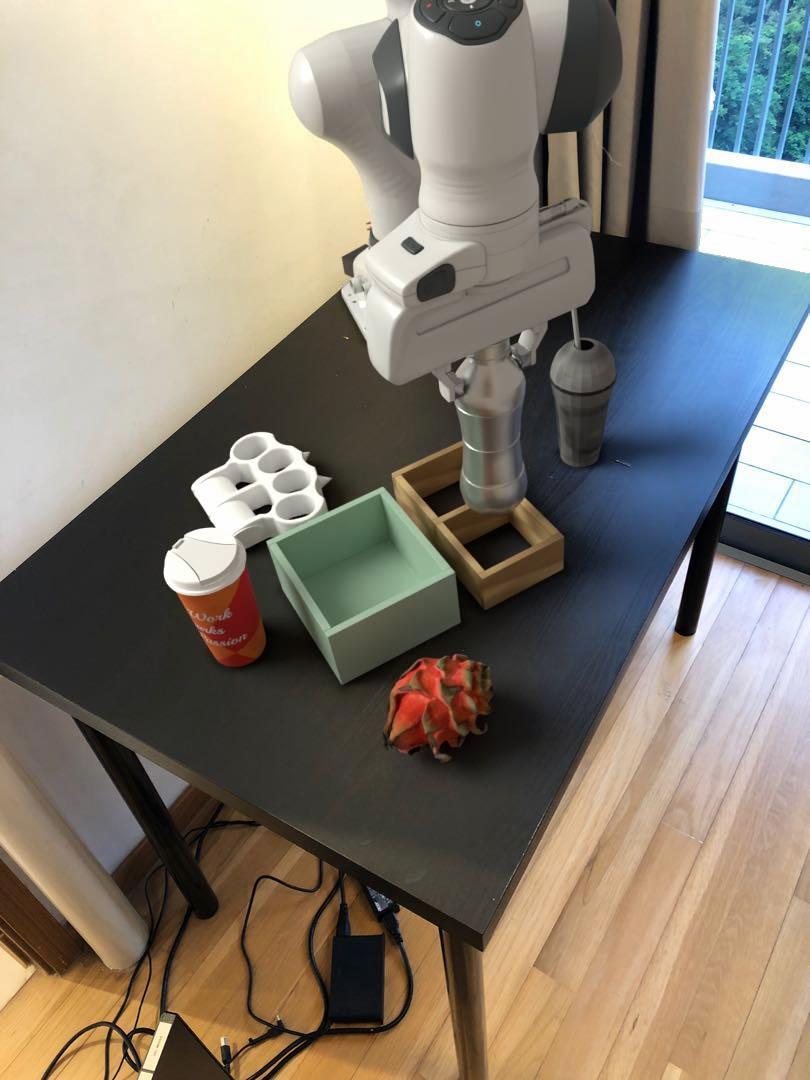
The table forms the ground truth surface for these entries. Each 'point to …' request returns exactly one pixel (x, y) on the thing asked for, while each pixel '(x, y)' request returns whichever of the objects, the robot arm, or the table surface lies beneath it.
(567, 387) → the beverage cup
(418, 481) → the rack
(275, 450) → the knuckle duster
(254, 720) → the table surface
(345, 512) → the open storage box
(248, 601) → the paper cup
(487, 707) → the dragon fruit
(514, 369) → the silver metal bottle
